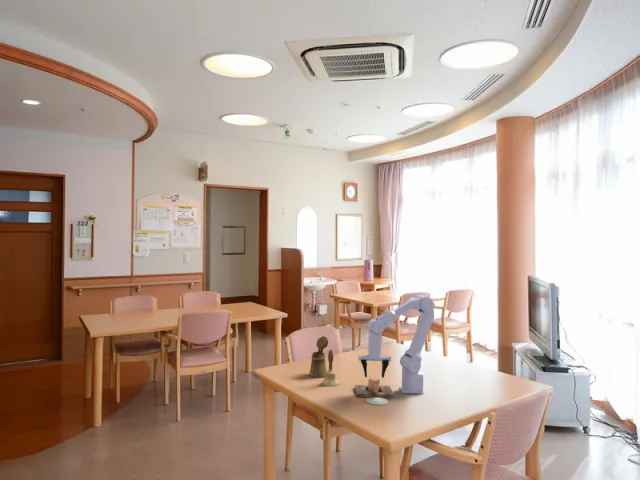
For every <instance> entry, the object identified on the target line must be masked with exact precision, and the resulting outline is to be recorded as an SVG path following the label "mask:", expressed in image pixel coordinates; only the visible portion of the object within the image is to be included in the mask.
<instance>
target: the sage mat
mask: <svg viewBox="0 0 640 480" xmlns="http://www.w3.org/2000/svg"><path fill="white" fill-rule="evenodd" d="M367 402H368V404H369V405H372V404H373V405H372V406H385V405H384V404H386V405H388V403H389V401H388V400H387V399H385V398H379V397H367V398H366V403H367Z"/></svg>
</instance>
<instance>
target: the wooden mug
mask: <svg viewBox="0 0 640 480" xmlns="http://www.w3.org/2000/svg"><path fill="white" fill-rule="evenodd" d="M328 344H329V340H328V338H327V337H326V336H324V335H322V336H320V337H319V338H318V339H317V341H316V347H317V348H318V349H317V350H318V351H313V352H312V355H311V363H310V369H309V376H310V377H312V378H315V379H317V378H318V379H319V378H320V379H321V378H322V379H323V378H325V375H326V372H327V371H328V370H327V366H326V355H325V354H326V353H324V349H325V348H327V347H328Z"/></svg>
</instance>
